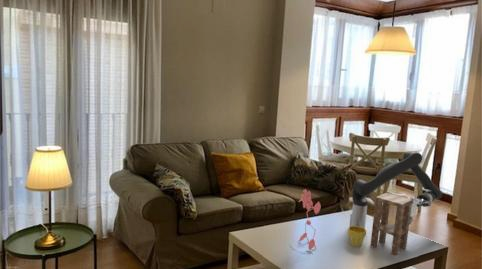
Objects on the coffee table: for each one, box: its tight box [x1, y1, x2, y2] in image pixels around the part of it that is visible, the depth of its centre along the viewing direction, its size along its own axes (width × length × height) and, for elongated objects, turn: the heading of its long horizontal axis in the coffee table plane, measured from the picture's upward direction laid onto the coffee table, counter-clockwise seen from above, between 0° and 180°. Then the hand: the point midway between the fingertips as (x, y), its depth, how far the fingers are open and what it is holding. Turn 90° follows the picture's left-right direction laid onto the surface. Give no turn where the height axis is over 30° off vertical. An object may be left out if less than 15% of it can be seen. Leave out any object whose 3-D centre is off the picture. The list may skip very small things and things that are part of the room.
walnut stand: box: [369, 192, 412, 256], centre depth 233 cm, size 16×14×31 cm
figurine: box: [298, 189, 322, 255], centre depth 228 cm, size 15×26×35 cm, turn 17°
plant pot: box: [347, 226, 367, 247], centre depth 237 cm, size 10×10×10 cm
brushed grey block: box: [409, 198, 421, 226], centre depth 246 cm, size 20×6×3 cm
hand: (414, 204), depth 248 cm, fingers closed on brushed grey block, 3 cm apart
